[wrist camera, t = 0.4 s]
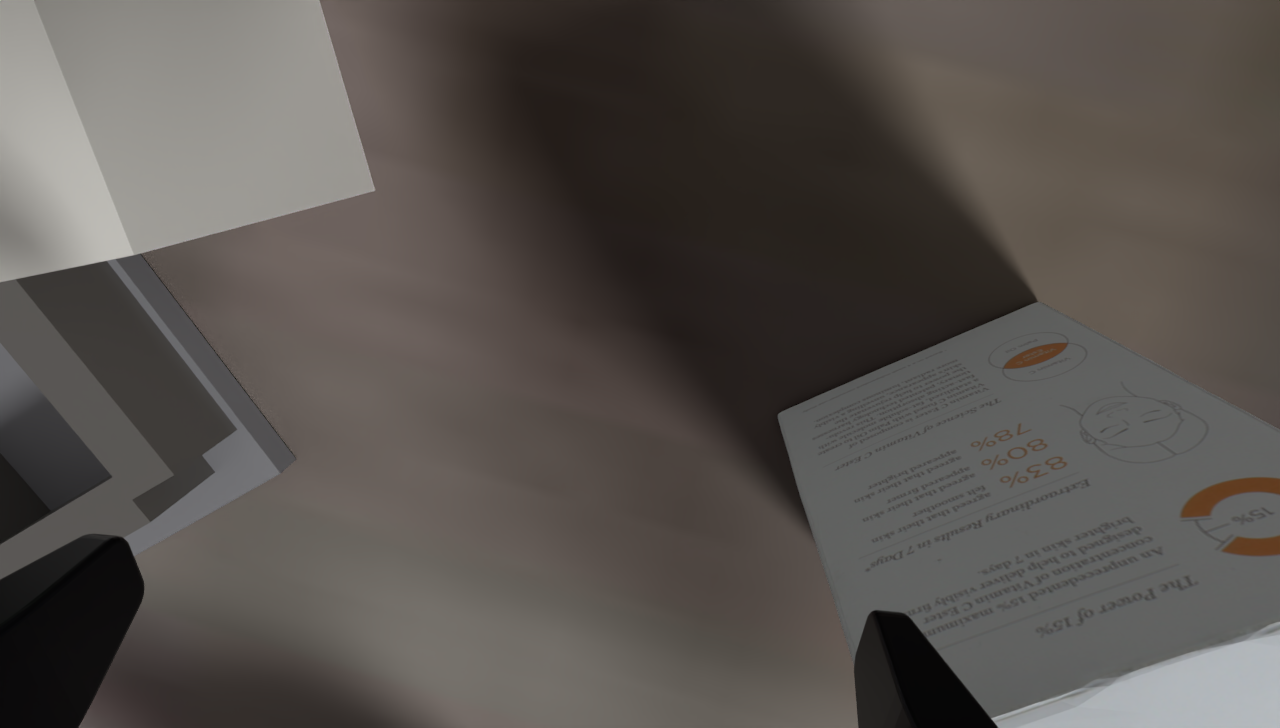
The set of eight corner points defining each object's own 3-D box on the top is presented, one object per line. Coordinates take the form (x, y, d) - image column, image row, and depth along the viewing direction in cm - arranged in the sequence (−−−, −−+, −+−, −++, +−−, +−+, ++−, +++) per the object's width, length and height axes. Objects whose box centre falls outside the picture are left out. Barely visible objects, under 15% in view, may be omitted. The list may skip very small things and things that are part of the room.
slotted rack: (296, 459, 24) (224, 523, 21) (87, 577, 26) (-14, 656, 22) (30, 108, 21) (-111, 108, 18) (-184, 269, 23) (-353, 300, 19)
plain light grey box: (375, 190, 22) (133, 255, 12) (258, 214, 22) (-64, 295, 13) (318, -4, 20) (-6, -102, 11) (194, 26, 21) (-225, -44, 11)
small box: (852, 579, 25) (1020, 1054, 12) (771, 410, 23) (872, 759, 11) (1110, 483, 23) (1598, 911, 11) (1044, 293, 22) (1527, 543, 9)
